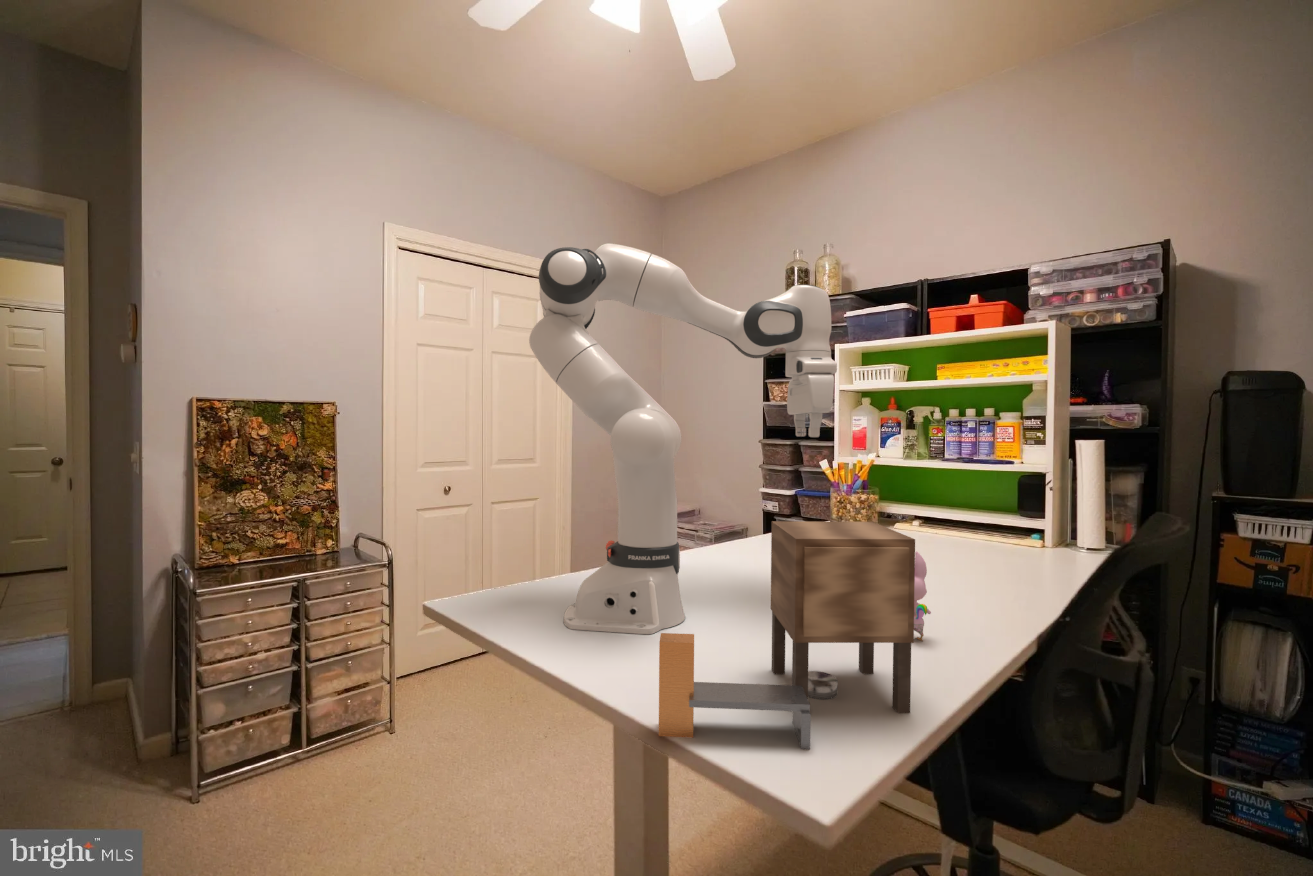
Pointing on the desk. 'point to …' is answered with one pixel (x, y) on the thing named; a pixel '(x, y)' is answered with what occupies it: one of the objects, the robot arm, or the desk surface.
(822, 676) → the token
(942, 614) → the desk surface
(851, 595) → the cabinet
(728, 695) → the tan and grey bench
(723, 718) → the desk surface
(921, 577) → the rabbit figure
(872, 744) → the desk surface
